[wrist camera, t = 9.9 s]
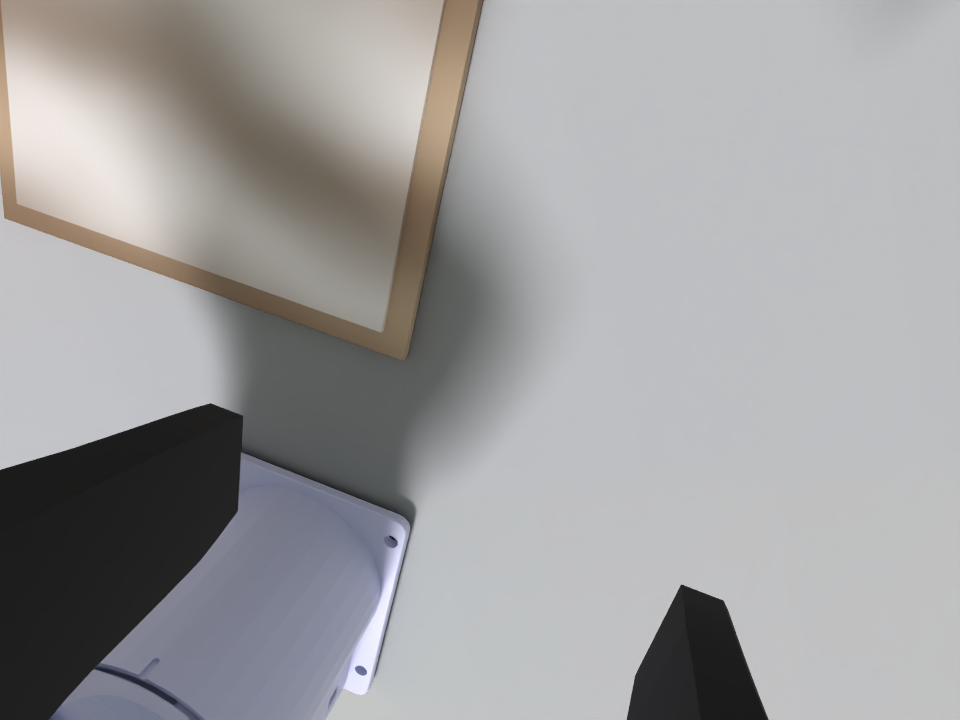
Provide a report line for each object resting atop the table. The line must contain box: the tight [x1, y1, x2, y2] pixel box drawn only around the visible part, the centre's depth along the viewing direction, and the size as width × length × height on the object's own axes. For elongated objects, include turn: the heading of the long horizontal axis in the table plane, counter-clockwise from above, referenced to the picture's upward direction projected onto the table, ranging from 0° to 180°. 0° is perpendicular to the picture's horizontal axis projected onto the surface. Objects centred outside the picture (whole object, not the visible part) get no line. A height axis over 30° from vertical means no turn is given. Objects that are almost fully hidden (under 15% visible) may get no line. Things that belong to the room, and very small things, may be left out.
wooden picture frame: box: [0, 0, 483, 361], centre depth 20 cm, size 12×15×1 cm
